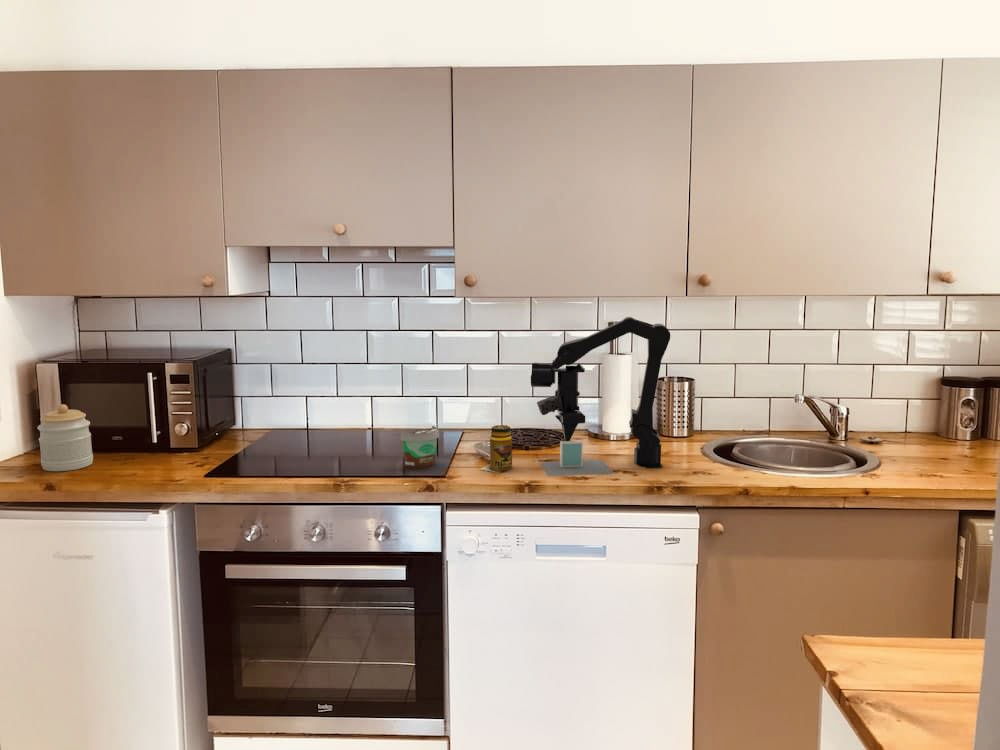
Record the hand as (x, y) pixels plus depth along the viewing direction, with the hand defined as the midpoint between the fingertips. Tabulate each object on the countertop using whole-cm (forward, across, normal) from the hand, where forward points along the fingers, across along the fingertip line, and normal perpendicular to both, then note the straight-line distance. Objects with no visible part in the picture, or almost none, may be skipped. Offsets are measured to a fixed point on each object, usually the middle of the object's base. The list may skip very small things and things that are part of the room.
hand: (567, 441), depth 224 cm
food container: (+6, -2, -40) cm, 41 cm away
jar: (+6, -15, -140) cm, 141 cm away
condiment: (+6, +4, -20) cm, 21 cm away
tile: (+6, +6, 0) cm, 8 cm away
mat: (+6, +8, +1) cm, 10 cm away
